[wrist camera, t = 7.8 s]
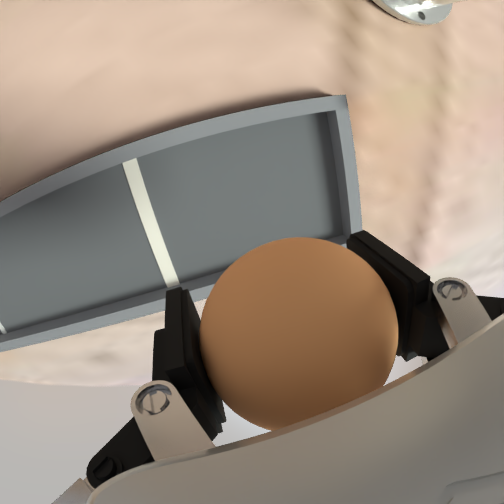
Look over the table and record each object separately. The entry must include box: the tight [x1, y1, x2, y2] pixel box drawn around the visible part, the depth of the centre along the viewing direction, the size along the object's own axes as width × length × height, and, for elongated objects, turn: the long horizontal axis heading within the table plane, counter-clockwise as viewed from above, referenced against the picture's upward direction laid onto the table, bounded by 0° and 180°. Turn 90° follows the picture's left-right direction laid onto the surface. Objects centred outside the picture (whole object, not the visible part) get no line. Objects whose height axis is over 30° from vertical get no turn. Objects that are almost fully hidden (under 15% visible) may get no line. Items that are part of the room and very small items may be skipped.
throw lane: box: [0, 95, 362, 352], centre depth 20 cm, size 12×35×2 cm, turn 103°
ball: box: [199, 237, 398, 431], centre depth 9 cm, size 6×6×6 cm
